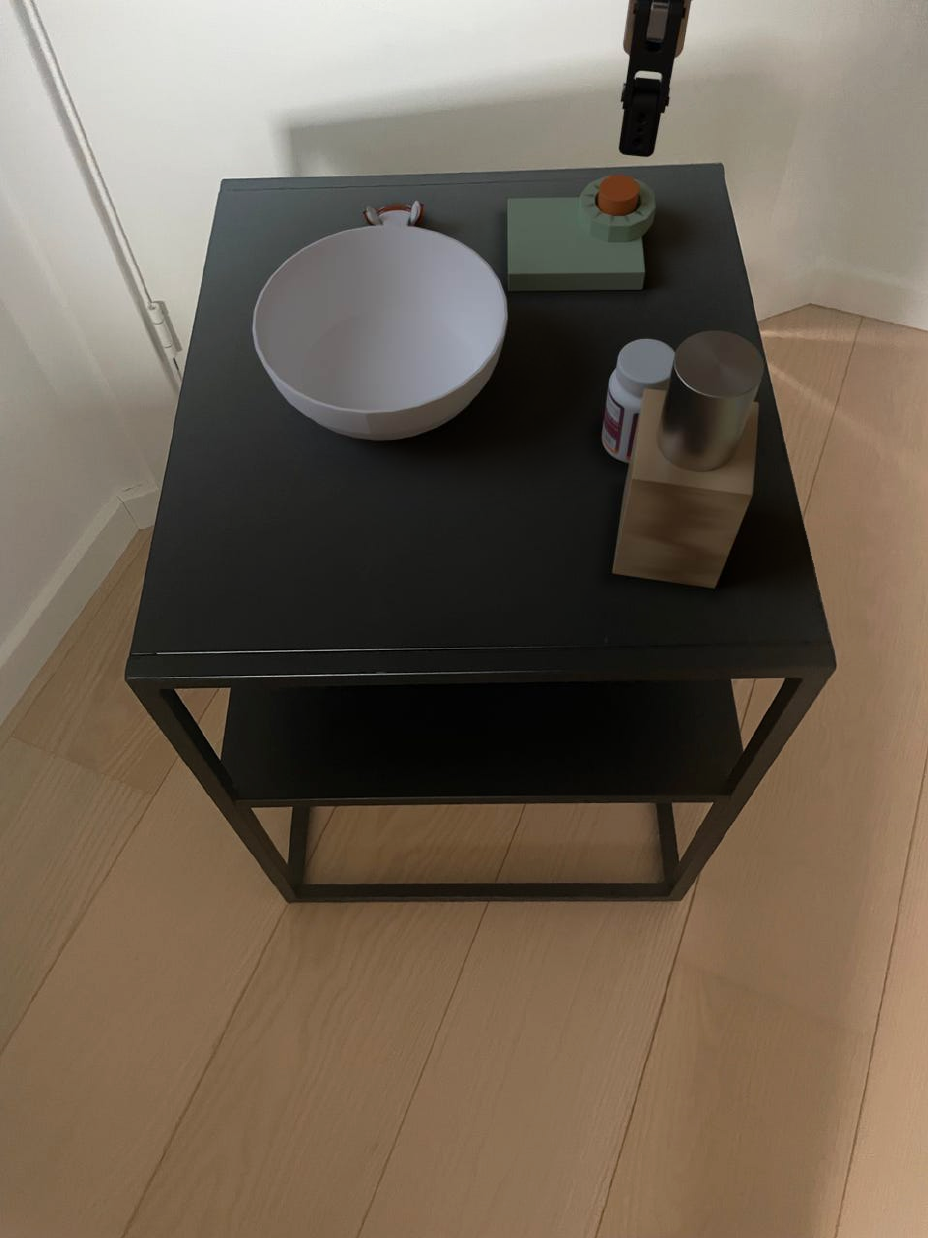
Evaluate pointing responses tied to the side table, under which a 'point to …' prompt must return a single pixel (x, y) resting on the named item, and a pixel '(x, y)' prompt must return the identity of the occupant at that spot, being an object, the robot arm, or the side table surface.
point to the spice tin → (708, 399)
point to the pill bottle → (633, 391)
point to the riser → (681, 506)
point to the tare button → (618, 195)
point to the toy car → (395, 215)
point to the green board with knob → (576, 243)
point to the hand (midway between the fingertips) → (641, 108)
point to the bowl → (381, 330)
